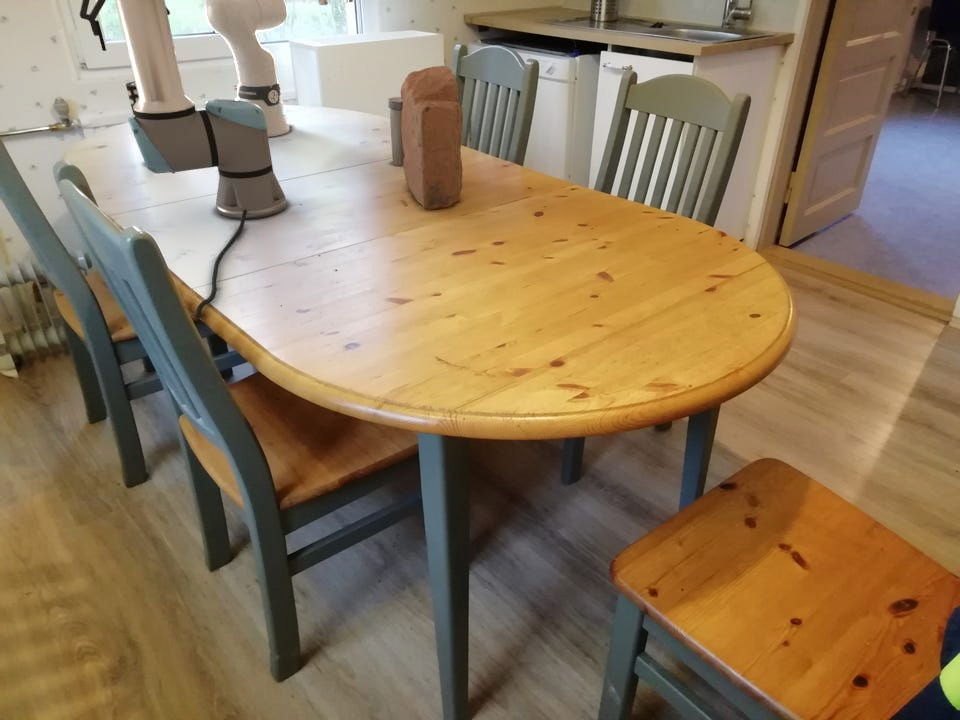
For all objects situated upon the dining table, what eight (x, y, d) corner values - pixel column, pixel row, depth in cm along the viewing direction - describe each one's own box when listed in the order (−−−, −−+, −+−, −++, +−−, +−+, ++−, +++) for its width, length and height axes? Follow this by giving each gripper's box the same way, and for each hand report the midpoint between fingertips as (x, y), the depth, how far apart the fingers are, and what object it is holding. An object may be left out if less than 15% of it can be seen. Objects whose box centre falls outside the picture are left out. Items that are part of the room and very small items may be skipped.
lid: (407, 110, 177) (406, 102, 176) (385, 109, 178) (384, 101, 177) (413, 105, 182) (413, 97, 181) (392, 104, 183) (392, 96, 182)
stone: (472, 206, 159) (470, 76, 145) (424, 211, 156) (418, 79, 142) (446, 181, 177) (443, 63, 162) (403, 185, 174) (396, 65, 159)
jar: (409, 166, 186) (406, 104, 177) (390, 165, 187) (386, 102, 178) (414, 160, 190) (412, 99, 181) (396, 159, 191) (392, 98, 182)
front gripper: (164, -51, 170) (183, 43, 182) (50, -50, 160) (78, 49, 171) (168, -50, 165) (188, 47, 176) (50, -49, 154) (79, 53, 166)
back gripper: (350, -59, 182) (354, -1, 190) (291, -58, 168) (299, 5, 175) (367, -59, 179) (372, 1, 187) (310, -58, 165) (317, 7, 172)
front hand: (133, 48), depth 174 cm, fingers open, 13 cm apart
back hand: (336, 3), depth 181 cm, fingers open, 8 cm apart
